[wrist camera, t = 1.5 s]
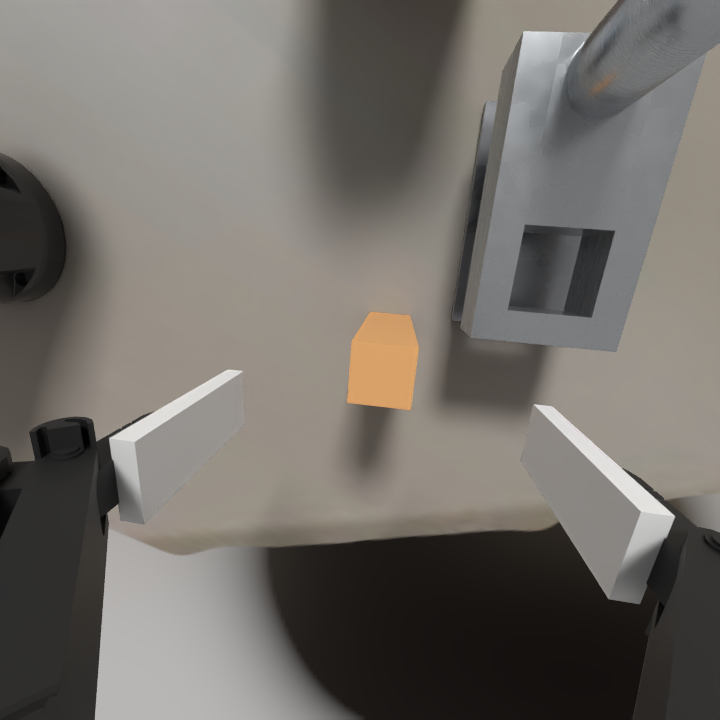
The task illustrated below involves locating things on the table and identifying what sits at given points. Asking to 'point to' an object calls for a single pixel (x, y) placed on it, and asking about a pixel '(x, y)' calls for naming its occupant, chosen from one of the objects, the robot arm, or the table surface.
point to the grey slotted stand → (577, 173)
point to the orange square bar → (383, 362)
